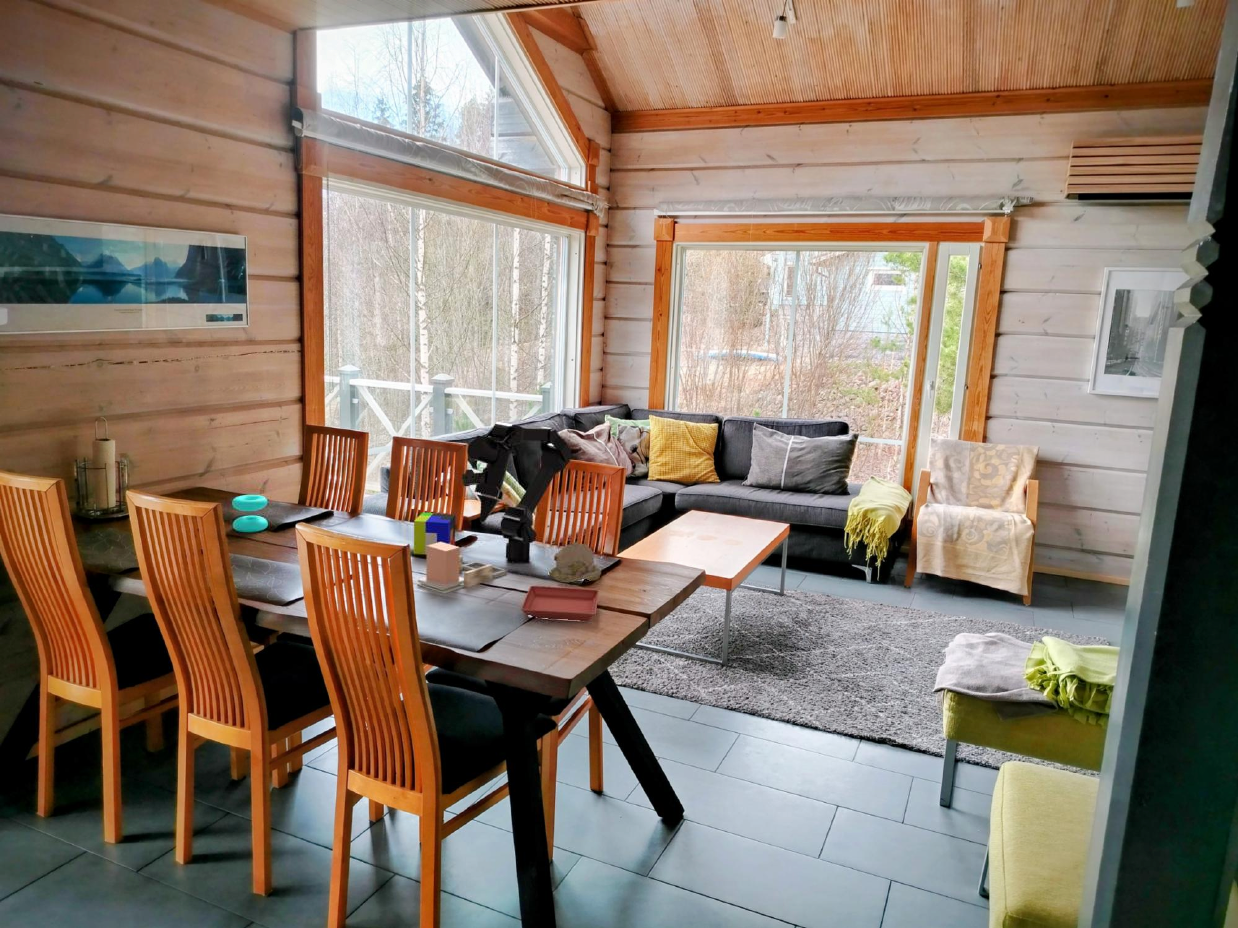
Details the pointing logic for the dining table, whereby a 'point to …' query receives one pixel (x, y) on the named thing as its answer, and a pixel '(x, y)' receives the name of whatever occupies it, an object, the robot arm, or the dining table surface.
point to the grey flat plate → (476, 564)
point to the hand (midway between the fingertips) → (482, 521)
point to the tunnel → (476, 574)
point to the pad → (441, 590)
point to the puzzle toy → (433, 530)
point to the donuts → (250, 505)
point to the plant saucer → (560, 603)
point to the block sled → (442, 566)
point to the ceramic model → (575, 564)
